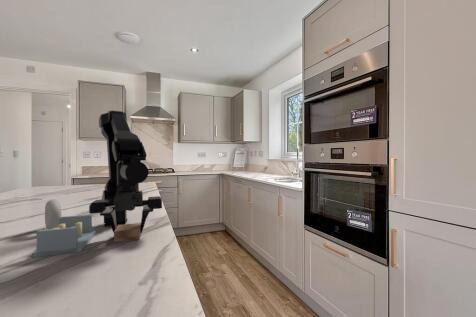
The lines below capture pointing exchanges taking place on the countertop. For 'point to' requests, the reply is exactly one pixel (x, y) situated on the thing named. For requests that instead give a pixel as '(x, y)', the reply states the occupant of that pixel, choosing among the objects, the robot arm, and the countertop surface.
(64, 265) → the countertop surface
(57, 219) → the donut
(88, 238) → the peg stand
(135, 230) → the walnut block
